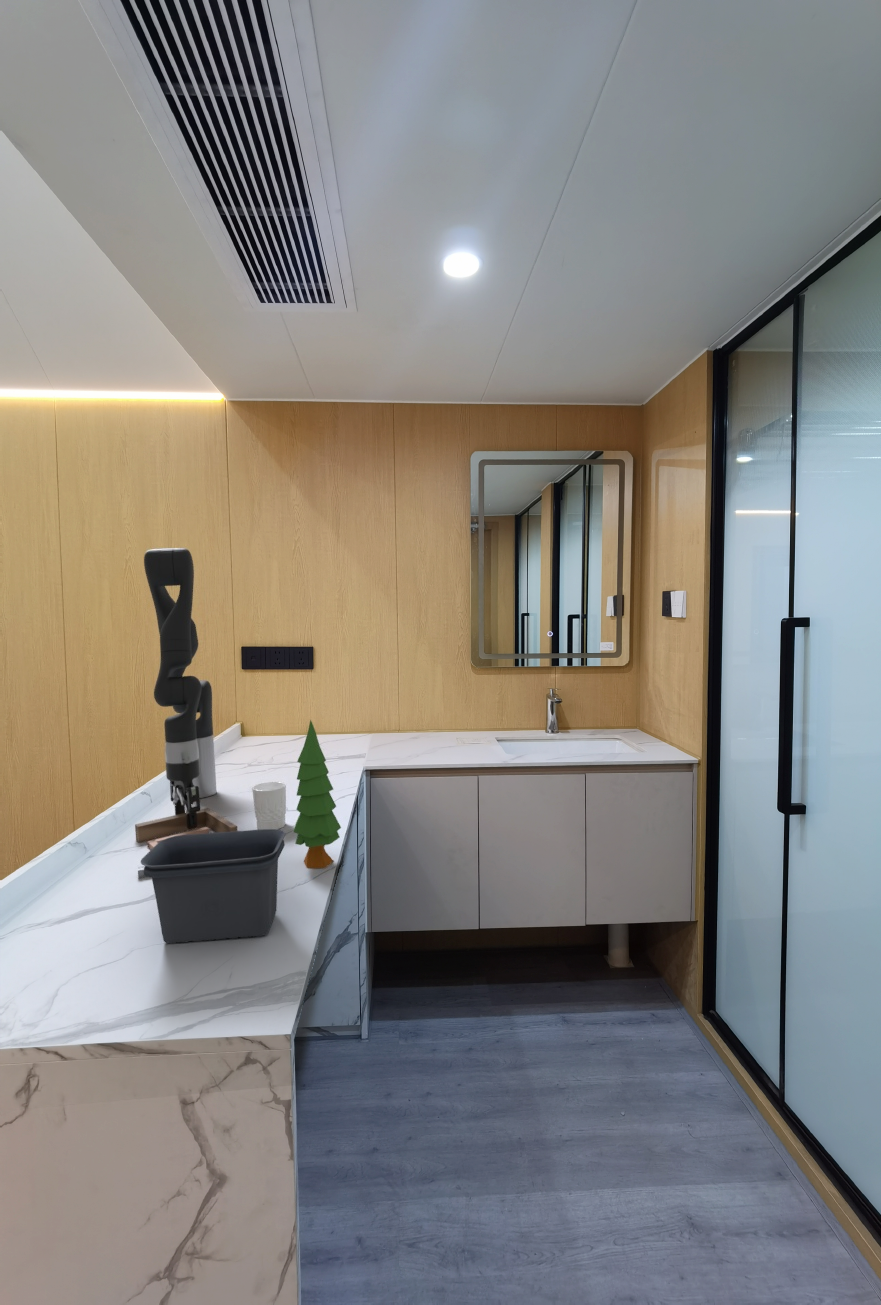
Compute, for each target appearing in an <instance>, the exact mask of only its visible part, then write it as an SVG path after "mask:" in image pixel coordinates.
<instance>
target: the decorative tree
mask: <svg viewBox="0 0 881 1305" xmlns="http://www.w3.org/2000/svg"><path fill="white" fill-rule="evenodd" d="M313 724H314V723H313V721H312V719H310V721H309V725H308V730H307V734H306V737H305V741H304V744H303V748H302V749H301V752H300V754H299V757H298V758H297V761H296V762H297V763H299V768H298V773H297V777H296V780H297V781H299V782H298V786H297V792H296V796H297V797H298V796H300V798H299V801H298V803H297V807H296V810H297V812H299V815H298V817H297V820H296V822H295V824H294V829H293V833H295V834H297V836H296V840H295V845H299V846H301V845H304V844H305V847H307V848H308V849H307V853H306V854H305V857H304V859H303V864H304V865H305V868H306V869H326V868H328V866H330V864H332V863H333V862H334V859H333V858H331V856H330V855H329V854H328V853H327V851H326V850H325V846H327V845H331V844H332V843H334V842H336V840H338V839H339V838H340V834H339V832H338V831H339V830H340V829H341V828H342V826H341V825H340V822H339V821H338V819H337V817H336V815H335V813H334V812H333V810H335V808H337V805H336V802H335V801H334V799H333V796H332V795H331V791H334V787H333V786H332V783H331V781H330V778H329V777H328V774H329V773H330V771H329V770H328V767H327V765H326V763H325V762H327V759H326V758H325V755H324V753H323V751H322V748H321V746H320V743H319V739H318V736H317V732H316V729H315V727H314V725H313Z"/></svg>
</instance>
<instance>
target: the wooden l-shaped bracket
mask: <svg viewBox="0 0 881 1305" xmlns="http://www.w3.org/2000/svg"><path fill="white" fill-rule="evenodd" d="M204 826H205V827H206V826H207V827H208V828H209V830H210V831H212V832H213V833H218V832H233V831H238V825H237V824H235V823H234V822H232V821H230V820H229V819H227V818H225V817H224V816H222V815H220V814H219V813H217V812H215V811H214V810H213V809H210V808H209V807H205V808H202V809H201V808H200V811H198V812H197V827H196V828H197V829H200V827H201V828H204ZM134 827H135V828H134V829H135V840H136V842H138V843H143V842H147V841H151V840H156V839H160V838H164V837H168V836H167V835H169V836H172V835H171V834H173V835H176V834H175V833H177V834H180V833H179V832H181V833H184V832H183V831H185V832H188V831H187V830H189V831H192V829H188V828H187V819H186V812H185V813H183V814H178V815H175V814H173V815H171V816H166V817H161V818H158V819H153V820H148V821H143V822H140V823H135V824H134ZM193 830H196V829H195V828H193Z"/></svg>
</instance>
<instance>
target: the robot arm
mask: <svg viewBox="0 0 881 1305" xmlns="http://www.w3.org/2000/svg"><path fill="white" fill-rule="evenodd" d="M143 566H144V571H145V572H144V573H145V575H146V579H147V583H148V588H149V591H150V594H151V598H152V601H153V606H154V609H155V614H156V615H155V616H156V620H157V627H158V632H159V633H158V634H159V646H160V648H159V649H160V652H159V653H160V661H159V662H160V664H159V669H158V674H157V678H156V682H155V686H154V689H153V698H154V701H155V702H156V704H157V705H158V706H160V707H162V708H163V707H164V708H165V707H166V708H167V707H169V708H170V707H172V708H173V710H174V712H175V713H176V714H174V715H171V716H168V717H167V718H165V720H164V724H163V725H164V737H165V739H164V740H165V745H164V746H165V747H164V759H165V773H166V774H165V776H166V779H167V780H168V781H169V786H170V787H169V789H170V801H171V802H172V804H173V806H174V815H178V814H183V813H186V819H187V828H188V829H193V828H196V827H197V812H198V811H200V809H201V801H200V800H201V798H202V799H203V798H208V797H212V796H213V795H215V794H216V793H217V775H216V758H215V757H216V754H215V742H214V725H213V722H214V721H213V690H212V689H213V688H212V684H211V682H209V681H208V680H199V678H197V677H196V676H194V675H184V673H185V671H186V669H187V667H189V666H191V664H192V662H193V658H194V656H195V655H196V653H197V651H198V649H199V639H198V632H197V625H196V623H195V622H194V619H193V618H192V612H193V598H194V597H193V596H194V580H195V579H194V578H195V573H194V572H195V569H194V568H195V567H194V560H193V556H192V553H191V552H190V550H189V549H188V548H181V547H180V548H179V547H175V548H174V547H173V548H154V549H153V548H152V549H148V550H146V551H145V554H144V556H143ZM173 586H174V587H175V586H176V587H177V586H179V591H178V596H177V599H176V601H174V599H173V598H172V597H171V595H170V593H169V592H168V590H167V587H173ZM198 713H199V714H200V716H199V717H198V718H197V714H198ZM193 830H194V829H193Z"/></svg>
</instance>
